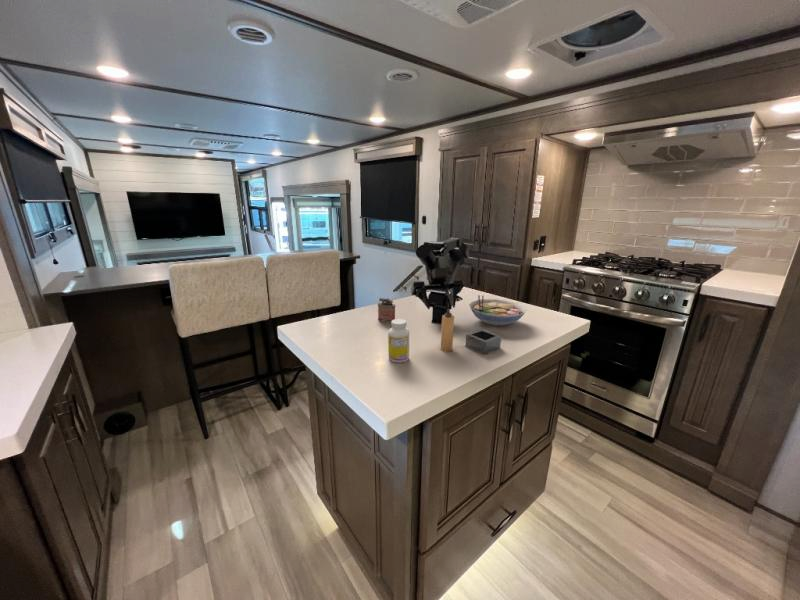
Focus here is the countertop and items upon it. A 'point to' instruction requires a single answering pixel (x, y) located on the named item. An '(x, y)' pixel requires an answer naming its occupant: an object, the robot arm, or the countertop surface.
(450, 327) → the plug
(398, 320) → the supplement bottle
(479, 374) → the countertop surface
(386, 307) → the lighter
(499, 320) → the ramen bowl
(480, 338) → the grey square open block
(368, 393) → the countertop surface
